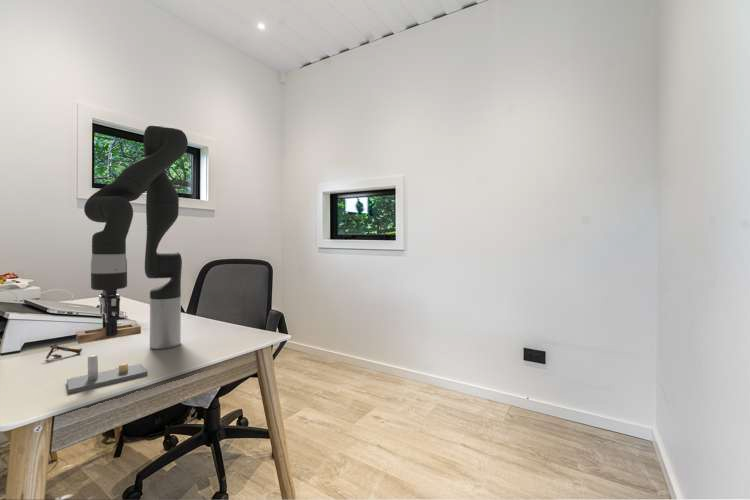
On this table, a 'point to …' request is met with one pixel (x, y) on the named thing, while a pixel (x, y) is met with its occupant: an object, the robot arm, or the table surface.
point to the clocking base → (104, 375)
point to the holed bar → (101, 333)
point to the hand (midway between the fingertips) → (109, 333)
